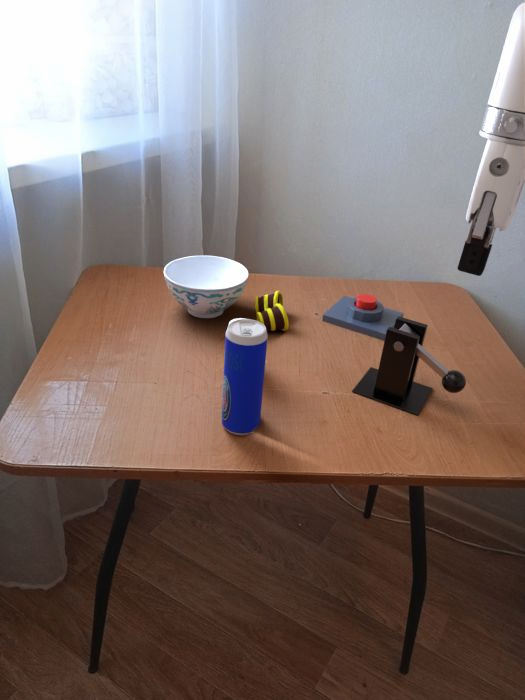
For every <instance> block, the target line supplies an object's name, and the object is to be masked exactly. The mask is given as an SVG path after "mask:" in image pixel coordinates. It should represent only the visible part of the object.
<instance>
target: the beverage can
mask: <svg viewBox="0 0 525 700" xmlns="http://www.w3.org/2000/svg"><path fill="white" fill-rule="evenodd" d="M224 336H225V338H224V339H225V340H224V356H223V357H224V359H223V362H224V363H223V384H222V403H221V425H222V426H223V427H224V429H225V430H226V431H227V432H228V433H230V434H232V435H236V436H247V435H250V434H252V433H254V432H255V430H256V429H257V428H258V427H259V426H260V423H261V414H262V405H263V404H262V403H263V392H264V381H265V371H266V360H267V350H268V349H267V348H268V338H269V337H268V336H269V335H268V331H267V330H266V327H265V326H264V325H263V324H262V323H260V322H258V321H257V320H255V319H250V318H244V319H239V320H235V321H233V322H231V323H230V324H229V323H228V326H227V329H226V331H225V335H224Z"/></svg>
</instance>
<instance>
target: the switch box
mask: <svg viewBox="0 0 525 700" xmlns="http://www.w3.org/2000/svg"><path fill="white" fill-rule="evenodd" d="M356 299H357V296H355V297H351V296H347V295H343V296H342V297H340V299H338V301H336V302H335V303H334V304H333V305H332V306H331V307H330V308H329V309H327V310H326V311H325V312H324V313H323V314H322V322H324V323H327V324H330V325H334V326H337V327H340V328H343V329H346V330H349V331H353V332H355V333H359V334H361V335H366V336H368V337H371V338H375V339H378V340H381V341H385V336H386V332H387V329H388V328H389V327H392V328H394V326H395V321H396V318H397V317H398V316H399V317H403V318H404V314H405V313H404V312H401V311H398V310H394V309H391V308H388V307H385V306H384V305H383V303H382V302H380V301H379V300H377V302H376V307H375V310H363V309H360V308H357V307H356Z"/></svg>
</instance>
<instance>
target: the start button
mask: <svg viewBox="0 0 525 700" xmlns="http://www.w3.org/2000/svg"><path fill="white" fill-rule="evenodd" d="M356 297H357V299H356V307H357V308H360V309H363V310H375V307H376V302H377V301H378V299H377V297H376V296H374V295H372V294H368V293H360V294H357V296H356Z"/></svg>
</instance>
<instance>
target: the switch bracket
mask: <svg viewBox="0 0 525 700" xmlns="http://www.w3.org/2000/svg"><path fill="white" fill-rule="evenodd" d="M404 324H406V325H408V326H409V327H410V328H411V329H412V330H413V331H414V332H415V333H417V334H418V335H419V336H418V335H415V334H411V333H408V332H405V331H402V330H399V329H400V328H401V327H402V326H403V325H404ZM427 331H428V324H426V323H423V322H420V321H416V320H413V319H410V318H407V317H404V316H403V317H399V316H398V317H397V318H396V321H395V326H394V328H392V327H389V328H388V329H387V332H386V336H385V341H384V340H383V341H384V342H383V346H382V351H381V355H380V361H379V365H378V368H375V367H373V366H370V367H369V368H368V370H367V371H366V372H365V374H364V375H363V376H362V377H361V379H360V380H359V381H358V382H357V384H356V385H355V386H354V388H353V389H352V390H351V393H352V394H356V395H358V396H361V397H364V398H366V399H369V400H371V401H375V402H377V403H379V404H383V405H386V406H388V407H391V408H395V409H396V410H399V411H402V412H405V413H407V414H410V415H413V416H416V417H418V416H419V415H420V413H421V411H422V409H423V408H424V406H425V404H426V403H427V401H428V398H429V397H430V395H431V393H432V391H433V389H434V388H433V387H431V386H428V385H425V384H422V383H419V382H416V381H415V377H416V372H417V369H418V365H419V361H420V358H419V357H418V356H417V355H416V350H417V346H418V344H420V345H421V346H422V347H423V346H424V342H425V337H426V333H427Z"/></svg>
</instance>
